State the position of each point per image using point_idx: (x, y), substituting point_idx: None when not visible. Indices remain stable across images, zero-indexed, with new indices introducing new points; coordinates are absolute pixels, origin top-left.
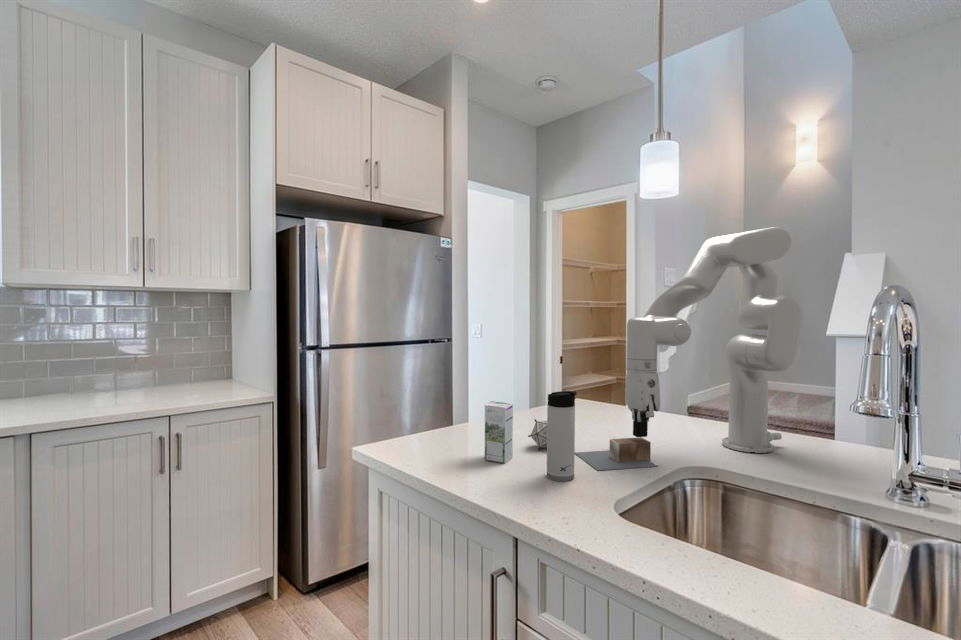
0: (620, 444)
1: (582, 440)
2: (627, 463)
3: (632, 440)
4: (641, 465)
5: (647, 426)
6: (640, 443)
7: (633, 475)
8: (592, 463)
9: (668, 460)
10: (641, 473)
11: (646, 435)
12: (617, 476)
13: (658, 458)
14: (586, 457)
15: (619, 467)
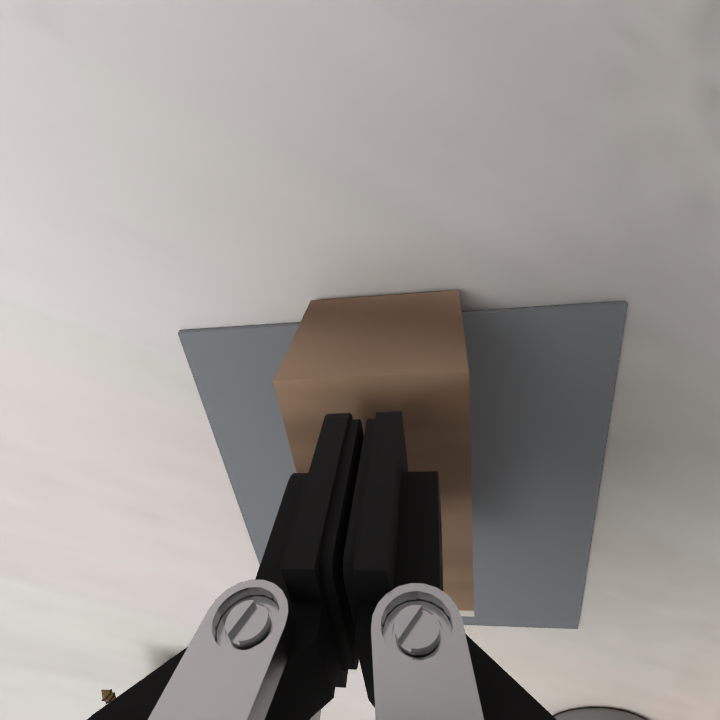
0: (472, 598)
1: (15, 510)
2: (511, 472)
3: None
4: (578, 412)
5: (391, 498)
6: (470, 462)
7: (717, 516)
8: None
9: (488, 113)
10: (706, 464)
11: (401, 422)
12: (691, 584)
13: (414, 187)
14: None
15: (571, 536)
